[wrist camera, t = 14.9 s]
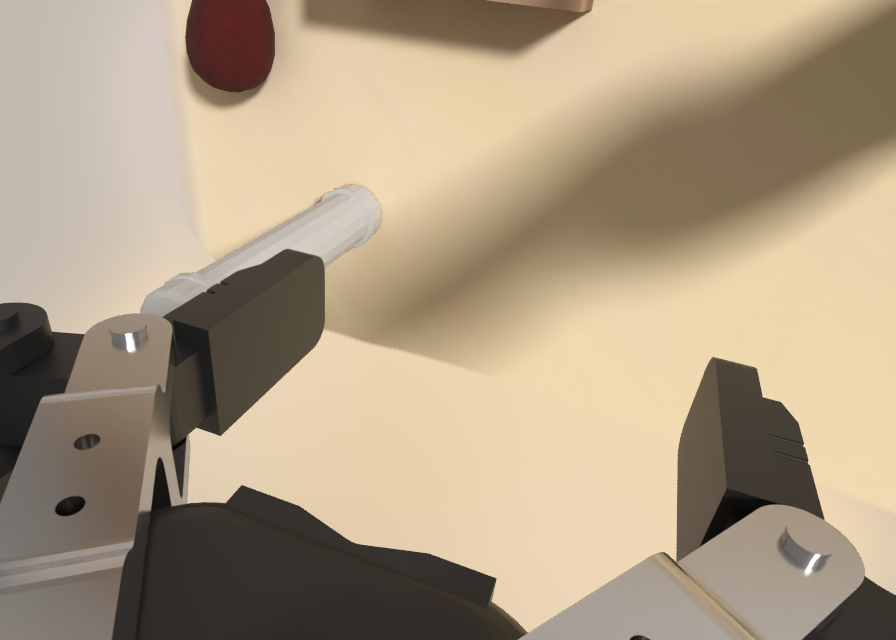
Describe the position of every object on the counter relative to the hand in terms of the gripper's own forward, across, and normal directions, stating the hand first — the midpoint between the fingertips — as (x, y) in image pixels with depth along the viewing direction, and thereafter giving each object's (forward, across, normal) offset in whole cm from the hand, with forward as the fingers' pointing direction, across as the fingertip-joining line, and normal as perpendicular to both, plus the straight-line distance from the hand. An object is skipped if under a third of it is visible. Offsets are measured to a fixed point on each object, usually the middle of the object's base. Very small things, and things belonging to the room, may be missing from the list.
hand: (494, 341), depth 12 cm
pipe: (+38, +22, +14) cm, 46 cm away
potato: (+38, +32, 0) cm, 50 cm away
